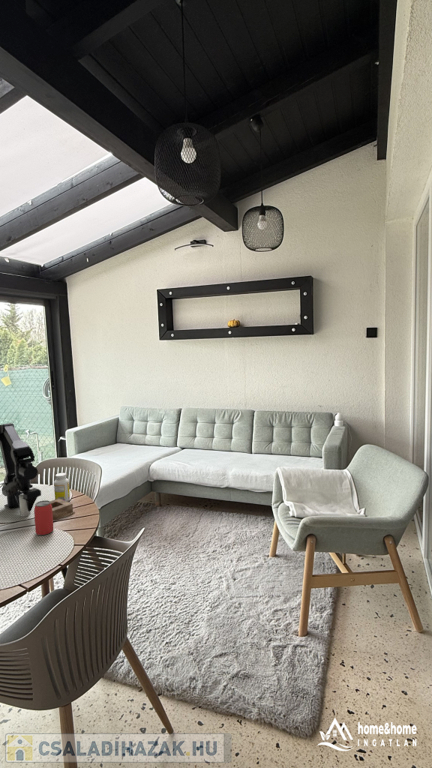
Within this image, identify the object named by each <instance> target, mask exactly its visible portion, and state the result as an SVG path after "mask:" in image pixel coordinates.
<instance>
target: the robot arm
mask: <svg viewBox="0 0 432 768" xmlns="http://www.w3.org/2000/svg"><path fill="white" fill-rule="evenodd" d="M0 453H1V456H2V461H3V466H4V469H5V471H4V472H5V475H4V479H3V484H2V487H1V493H2V495H4V497H6V502H7V504H4V507H5V508H8V509H9V510H12V509H16V508H18V507H19V508H20V502H19V495H20V494H23V497H24V498H23V499H24V500H26V503H27V508H28V511H30V512H31V511H32V510H33V507H34V506H35V505H34V504H36V501H37V499H38V497H41V496H42V490H40V489H39V488H37V487H34V486H33V484H31V481H32V480H34V479H36V477H37V476H38V474H39V470H38V468H37V467H36V466H34V464H33V462H36V461H35V459H36V458H35V454H34V452H33V449H32V447H31V446H30V445H29V444H28V443H27V442H26V441H23V440H22V439H21V436H20V435H19V433H18V432H17V430H16V428H15V425H14V423H12V422H8V423H3V424H0Z"/></svg>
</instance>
